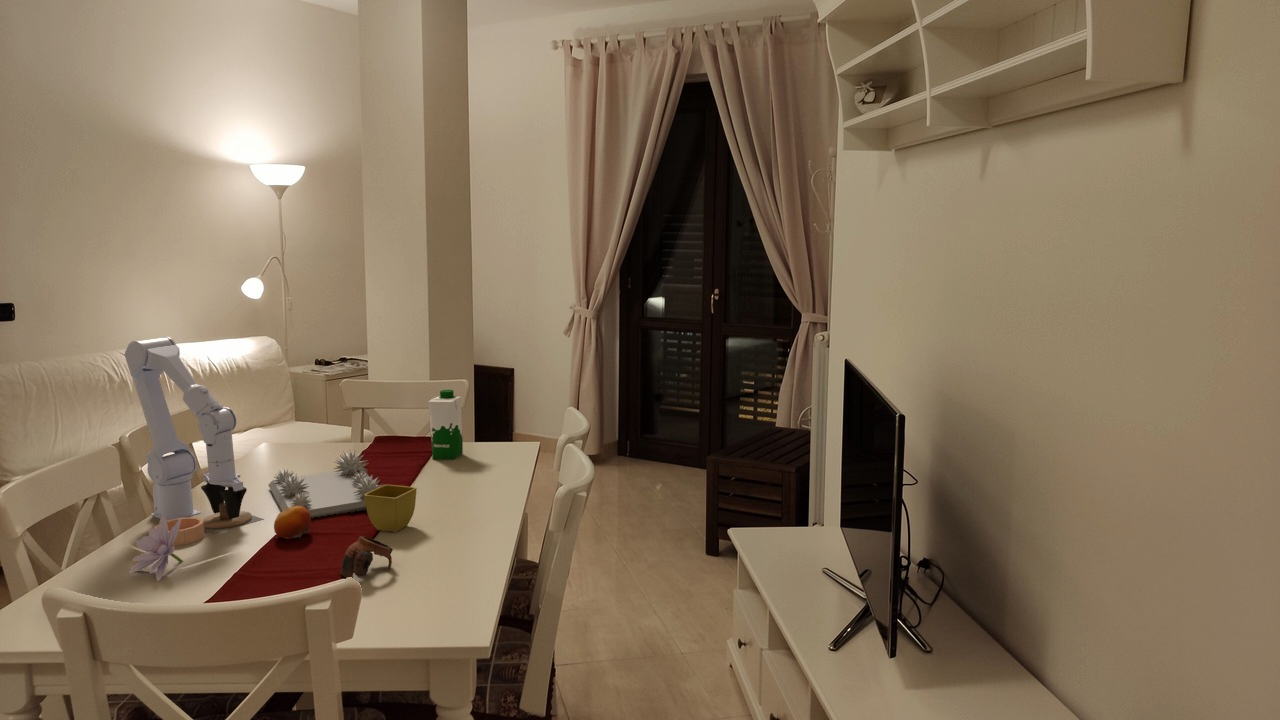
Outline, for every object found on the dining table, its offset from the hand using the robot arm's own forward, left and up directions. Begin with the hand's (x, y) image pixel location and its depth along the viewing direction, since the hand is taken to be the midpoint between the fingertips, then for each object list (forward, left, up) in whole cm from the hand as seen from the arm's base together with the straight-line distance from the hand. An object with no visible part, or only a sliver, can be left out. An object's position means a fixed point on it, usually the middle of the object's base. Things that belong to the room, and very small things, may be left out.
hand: (226, 515), depth 212 cm
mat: (0, 0, -2) cm, 2 cm away
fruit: (+22, +4, -2) cm, 22 cm away
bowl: (+2, -12, -2) cm, 12 cm away
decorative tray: (+3, +26, -3) cm, 26 cm away
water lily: (+17, -24, -2) cm, 30 cm away
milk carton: (-3, +71, -2) cm, 71 cm away
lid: (0, 0, -2) cm, 2 cm away
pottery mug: (+55, -1, -2) cm, 55 cm away
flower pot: (+37, +20, -2) cm, 42 cm away
